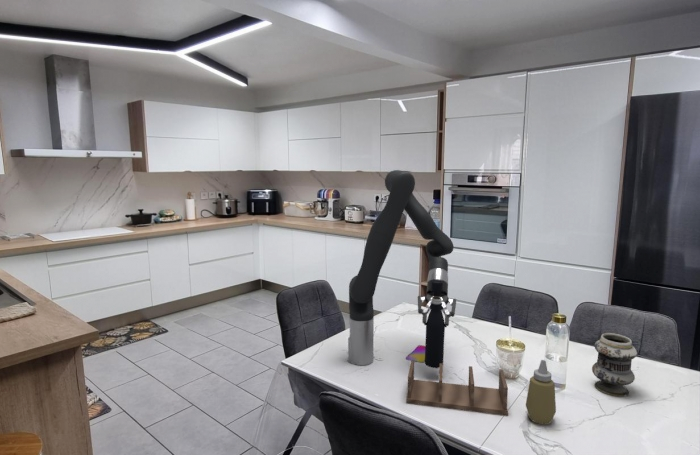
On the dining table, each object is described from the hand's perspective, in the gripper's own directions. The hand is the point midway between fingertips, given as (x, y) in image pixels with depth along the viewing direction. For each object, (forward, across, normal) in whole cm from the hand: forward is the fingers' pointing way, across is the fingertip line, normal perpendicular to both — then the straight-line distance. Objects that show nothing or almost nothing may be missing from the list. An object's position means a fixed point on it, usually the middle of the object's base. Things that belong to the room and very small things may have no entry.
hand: (435, 325), depth 142 cm
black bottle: (+10, 0, +12) cm, 15 cm away
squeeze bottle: (+26, +31, +1) cm, 41 cm away
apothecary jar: (+9, +58, +18) cm, 62 cm away
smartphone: (+1, -6, +28) cm, 29 cm away
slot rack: (+22, +7, +6) cm, 24 cm away
